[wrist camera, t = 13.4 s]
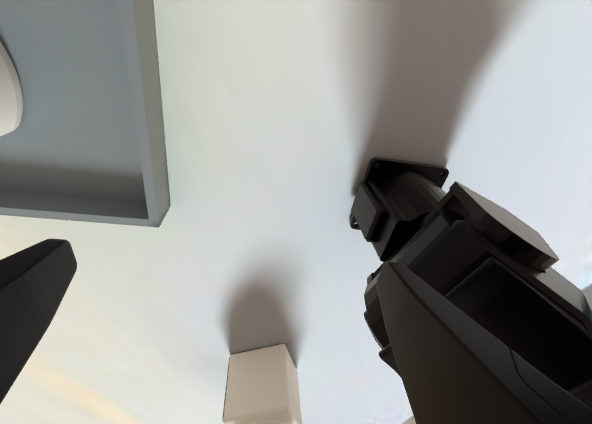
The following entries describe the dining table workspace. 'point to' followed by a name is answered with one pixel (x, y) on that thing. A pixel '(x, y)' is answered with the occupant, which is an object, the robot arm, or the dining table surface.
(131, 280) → the dining table surface
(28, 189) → the slate tray
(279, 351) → the medicine bottle
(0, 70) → the eye dropper bottle
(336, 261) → the dining table surface
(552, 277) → the robot arm
